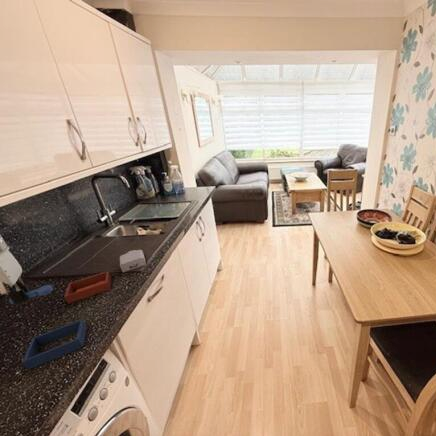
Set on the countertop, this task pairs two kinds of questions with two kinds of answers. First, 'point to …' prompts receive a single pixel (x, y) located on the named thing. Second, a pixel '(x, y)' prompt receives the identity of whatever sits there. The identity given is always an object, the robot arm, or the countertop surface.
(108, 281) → the red bin
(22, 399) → the countertop surface
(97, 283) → the red spoon
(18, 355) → the countertop surface
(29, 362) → the blue bin
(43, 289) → the blue spoon
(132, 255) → the charger
